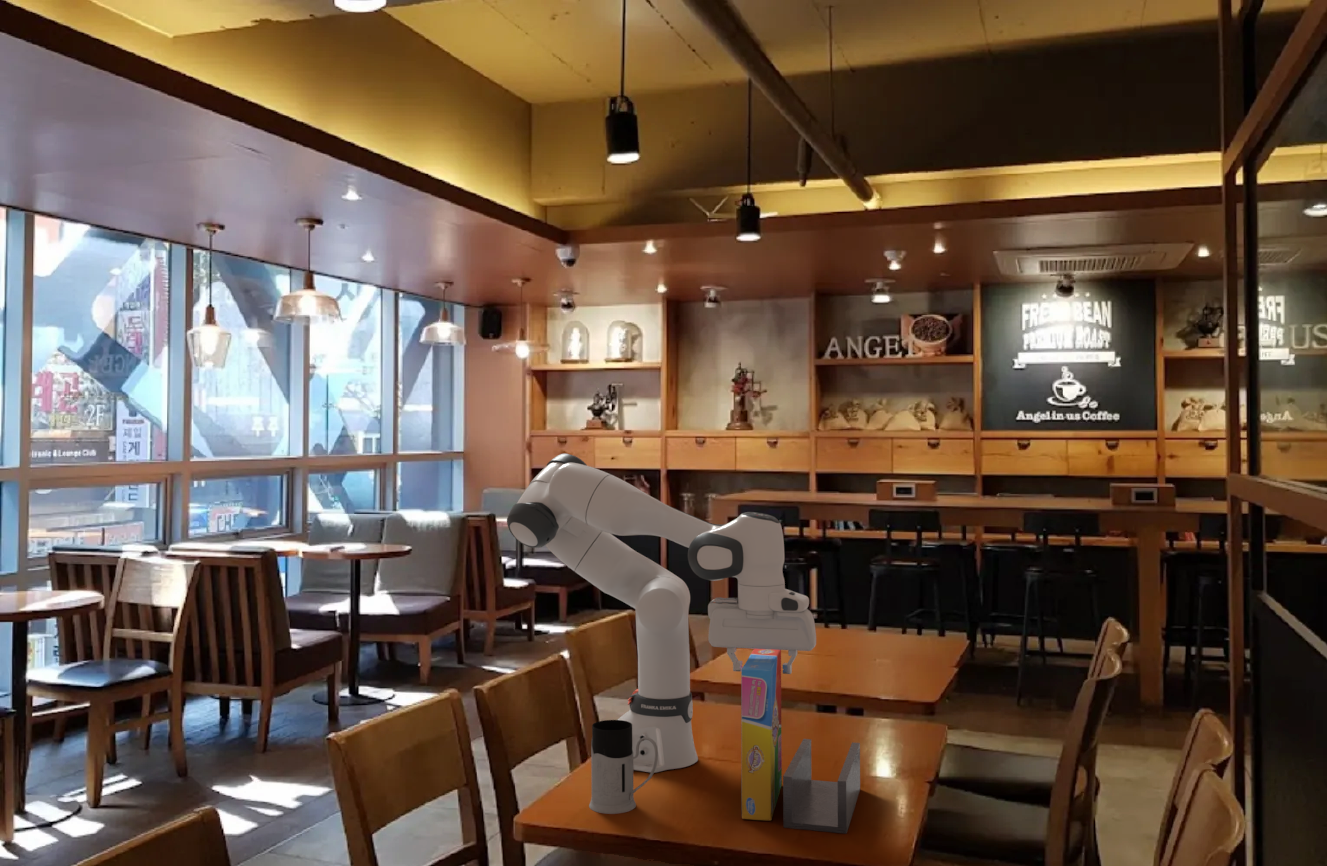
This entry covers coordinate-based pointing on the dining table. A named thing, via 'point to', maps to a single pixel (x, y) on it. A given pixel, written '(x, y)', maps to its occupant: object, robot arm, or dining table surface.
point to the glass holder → (614, 766)
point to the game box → (761, 734)
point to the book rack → (820, 793)
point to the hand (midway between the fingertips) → (762, 672)
